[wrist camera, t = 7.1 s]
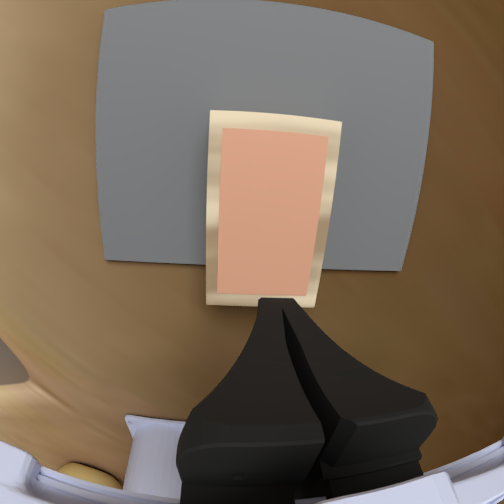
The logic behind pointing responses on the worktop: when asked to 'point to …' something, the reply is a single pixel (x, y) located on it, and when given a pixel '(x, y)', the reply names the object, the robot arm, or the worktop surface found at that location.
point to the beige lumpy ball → (89, 475)
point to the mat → (256, 100)
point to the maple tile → (268, 205)
